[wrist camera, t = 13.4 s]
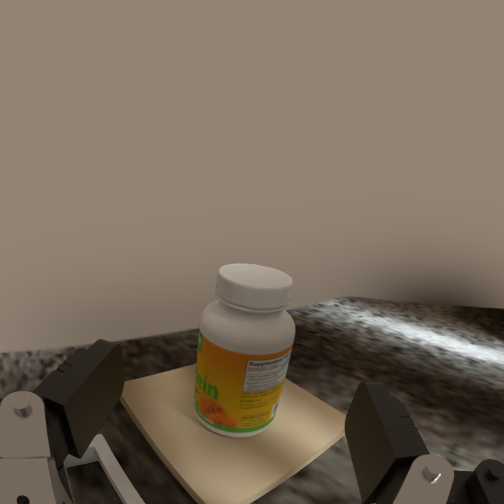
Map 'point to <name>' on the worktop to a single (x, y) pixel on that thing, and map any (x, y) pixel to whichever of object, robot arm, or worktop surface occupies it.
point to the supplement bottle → (243, 350)
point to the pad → (228, 438)
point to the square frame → (108, 469)
